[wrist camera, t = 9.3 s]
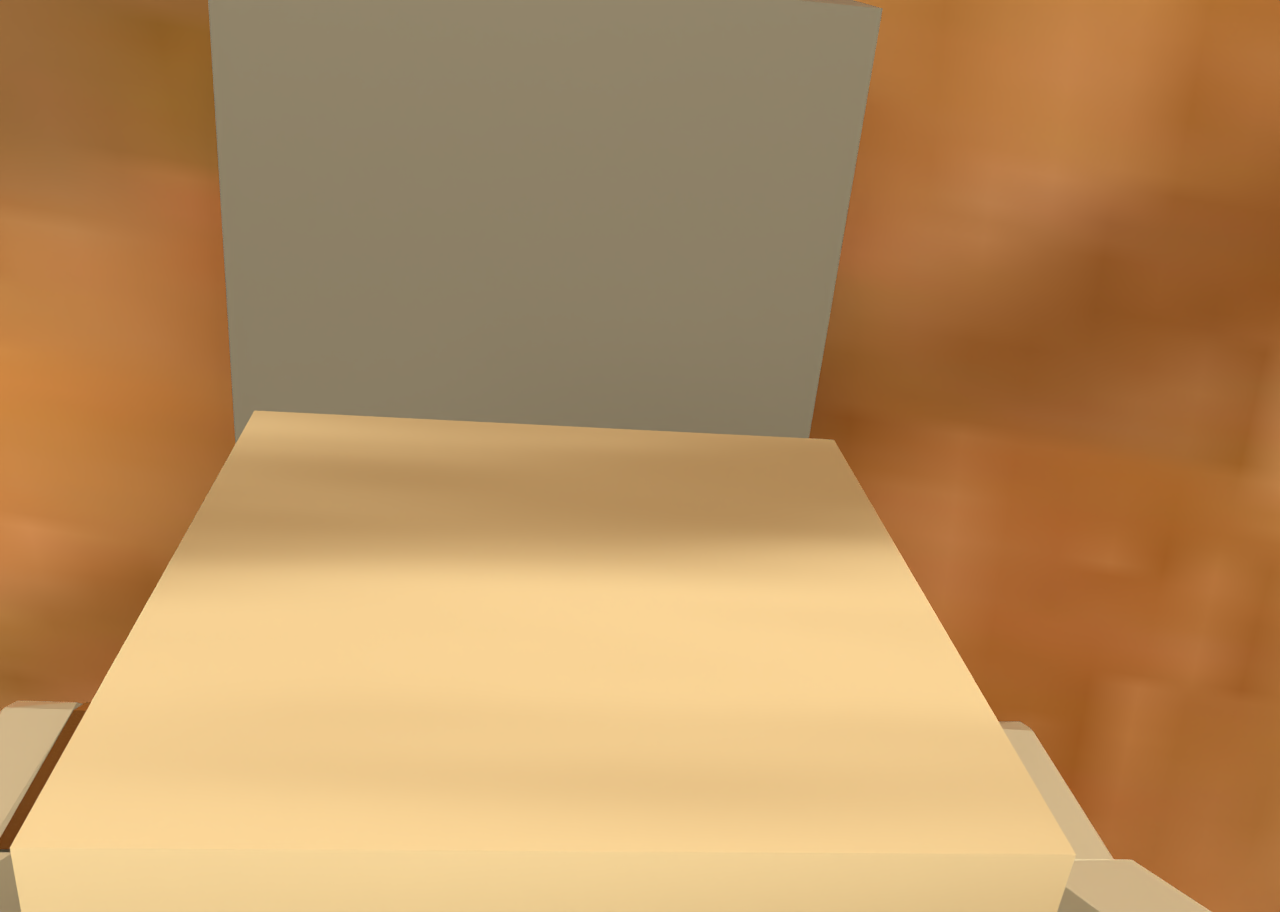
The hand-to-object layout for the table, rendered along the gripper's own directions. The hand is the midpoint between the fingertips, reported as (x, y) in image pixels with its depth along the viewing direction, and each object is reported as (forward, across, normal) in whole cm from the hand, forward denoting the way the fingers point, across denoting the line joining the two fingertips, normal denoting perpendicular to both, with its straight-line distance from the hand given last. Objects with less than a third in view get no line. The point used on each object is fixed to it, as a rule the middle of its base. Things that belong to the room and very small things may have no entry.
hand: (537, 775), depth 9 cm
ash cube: (+2, 0, 0) cm, 2 cm away
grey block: (+18, 0, 0) cm, 18 cm away
